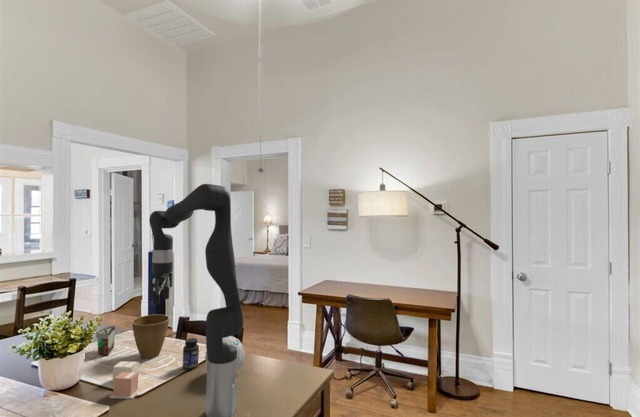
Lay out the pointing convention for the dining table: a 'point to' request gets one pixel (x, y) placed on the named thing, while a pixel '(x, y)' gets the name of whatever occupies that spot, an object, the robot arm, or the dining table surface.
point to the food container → (105, 340)
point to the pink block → (125, 384)
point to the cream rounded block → (125, 368)
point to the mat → (126, 396)
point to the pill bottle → (190, 354)
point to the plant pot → (150, 334)
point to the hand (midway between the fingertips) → (161, 301)
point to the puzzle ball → (239, 347)
